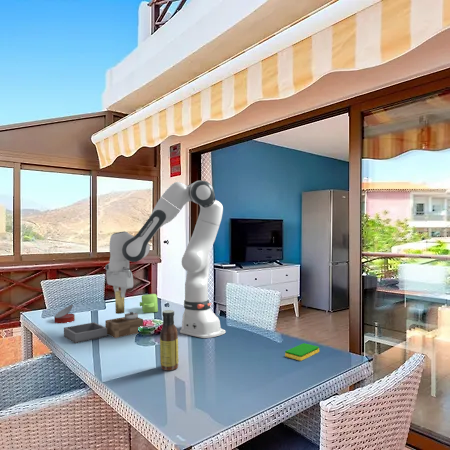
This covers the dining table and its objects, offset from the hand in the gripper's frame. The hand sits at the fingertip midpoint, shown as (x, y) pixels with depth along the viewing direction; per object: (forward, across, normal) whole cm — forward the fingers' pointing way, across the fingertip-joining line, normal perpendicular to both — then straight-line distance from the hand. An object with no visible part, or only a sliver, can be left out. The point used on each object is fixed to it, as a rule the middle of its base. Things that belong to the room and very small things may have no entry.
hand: (119, 296), depth 168 cm
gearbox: (+18, +33, -34) cm, 51 cm away
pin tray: (+17, +6, +14) cm, 23 cm away
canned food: (+17, +42, +11) cm, 47 cm away
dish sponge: (+19, -74, -39) cm, 86 cm away
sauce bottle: (+18, -51, +7) cm, 54 cm away
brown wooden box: (+17, 0, -2) cm, 17 cm away
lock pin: (+8, 0, 0) cm, 8 cm away
